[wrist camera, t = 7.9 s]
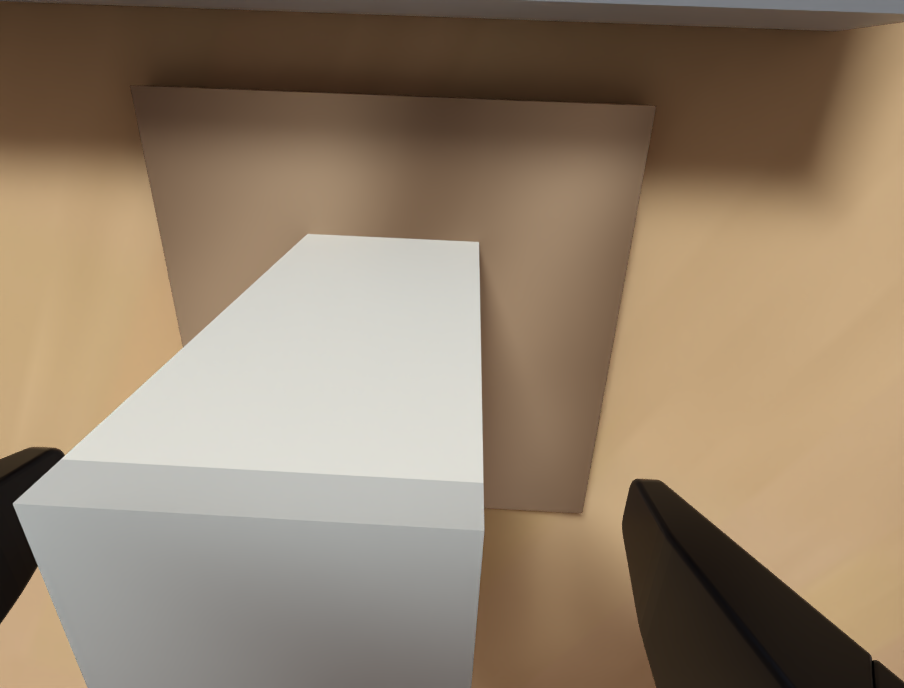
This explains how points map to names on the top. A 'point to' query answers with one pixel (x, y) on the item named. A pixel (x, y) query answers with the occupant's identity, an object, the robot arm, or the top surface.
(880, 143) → the top surface
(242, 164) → the pad
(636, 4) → the power strip
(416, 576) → the plug
